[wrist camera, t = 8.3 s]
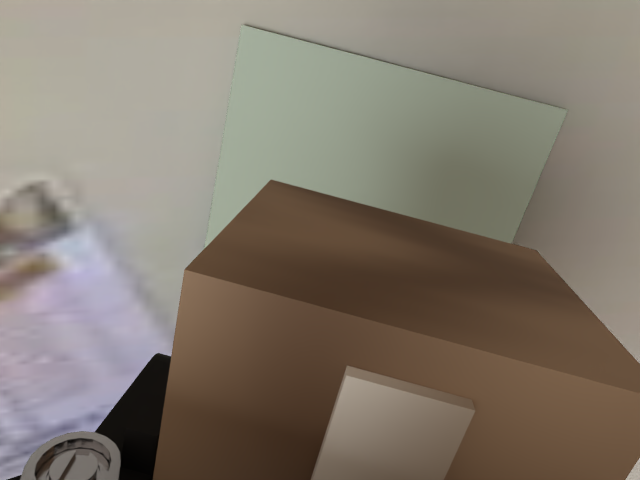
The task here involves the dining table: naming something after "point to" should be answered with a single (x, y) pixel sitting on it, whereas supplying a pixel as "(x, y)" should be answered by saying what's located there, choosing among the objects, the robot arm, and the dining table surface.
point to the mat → (378, 137)
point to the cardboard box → (387, 356)
